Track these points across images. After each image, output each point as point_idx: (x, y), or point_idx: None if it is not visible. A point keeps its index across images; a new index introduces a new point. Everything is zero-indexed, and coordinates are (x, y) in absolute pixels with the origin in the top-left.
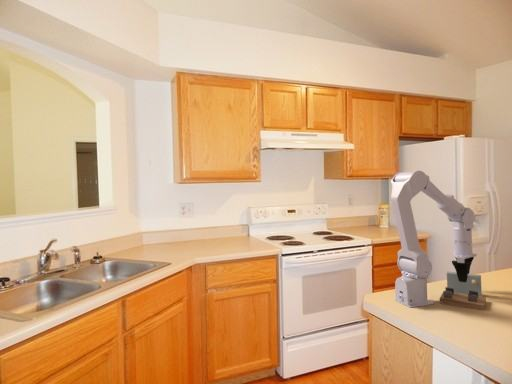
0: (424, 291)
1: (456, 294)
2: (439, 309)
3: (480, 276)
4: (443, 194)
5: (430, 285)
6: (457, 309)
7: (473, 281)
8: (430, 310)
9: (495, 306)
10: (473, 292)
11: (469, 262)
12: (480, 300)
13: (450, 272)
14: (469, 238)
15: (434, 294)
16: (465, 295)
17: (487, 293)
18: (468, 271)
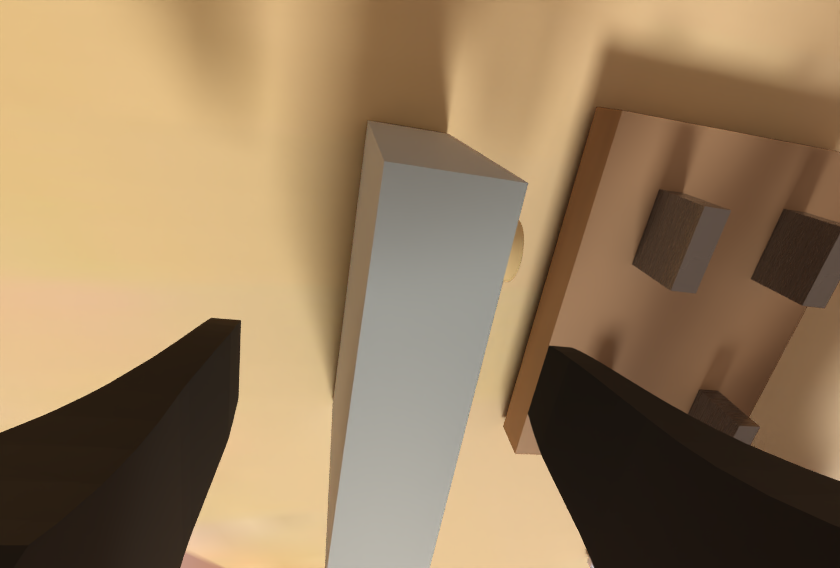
0: None
1: None
2: (807, 424)
3: (495, 180)
4: None
5: (226, 528)
6: (802, 331)
7: (510, 263)
8: (826, 462)
9: (704, 31)
10: (705, 250)
11: (123, 506)
12: (743, 177)
13: (373, 562)
14: None
15: (487, 478)
16: (612, 296)
17: (242, 38)
18: (211, 366)
